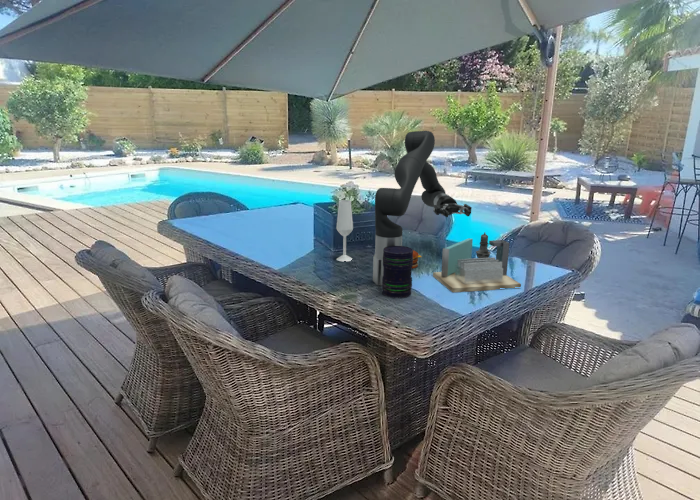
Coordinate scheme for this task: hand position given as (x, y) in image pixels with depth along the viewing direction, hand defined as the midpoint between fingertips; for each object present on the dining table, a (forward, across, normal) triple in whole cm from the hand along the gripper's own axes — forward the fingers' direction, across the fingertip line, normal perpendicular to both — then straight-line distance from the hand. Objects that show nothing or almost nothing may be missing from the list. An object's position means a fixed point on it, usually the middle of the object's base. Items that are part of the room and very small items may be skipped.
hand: (458, 214), depth 195 cm
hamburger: (-1, -20, +21) cm, 28 cm away
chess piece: (-4, +13, +21) cm, 25 cm away
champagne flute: (-12, -42, +21) cm, 49 cm away
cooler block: (+22, +3, +18) cm, 28 cm away
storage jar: (+30, -30, +18) cm, 46 cm away
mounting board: (+22, 0, +19) cm, 29 cm away
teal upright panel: (+13, -4, +18) cm, 22 cm away
